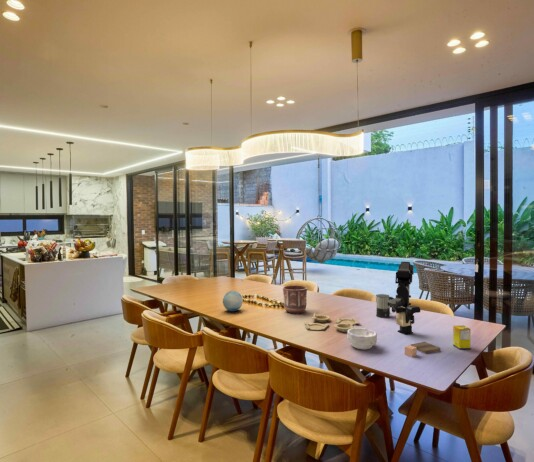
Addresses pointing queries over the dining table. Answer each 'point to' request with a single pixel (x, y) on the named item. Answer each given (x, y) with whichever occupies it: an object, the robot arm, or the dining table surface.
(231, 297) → the decorative ball
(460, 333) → the supplement box
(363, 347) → the paper bowls
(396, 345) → the dining table surface
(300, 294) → the pottery
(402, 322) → the oak block
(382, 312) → the milk frother
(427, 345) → the walnut block
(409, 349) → the terracotta cube
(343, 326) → the tableware set
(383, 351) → the dining table surface
